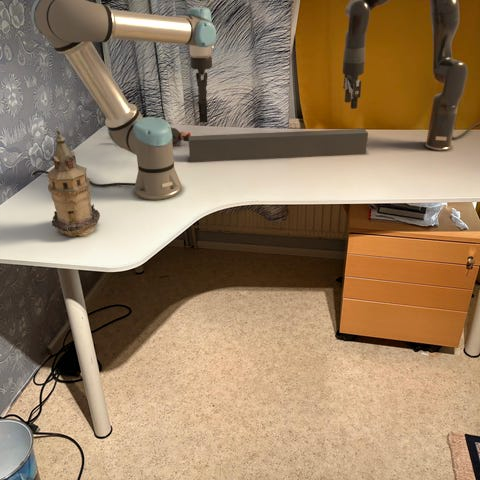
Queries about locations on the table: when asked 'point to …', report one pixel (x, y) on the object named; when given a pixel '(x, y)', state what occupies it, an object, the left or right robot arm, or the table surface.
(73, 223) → the miniature building
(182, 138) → the toy
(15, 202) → the table surface
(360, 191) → the table surface
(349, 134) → the post
